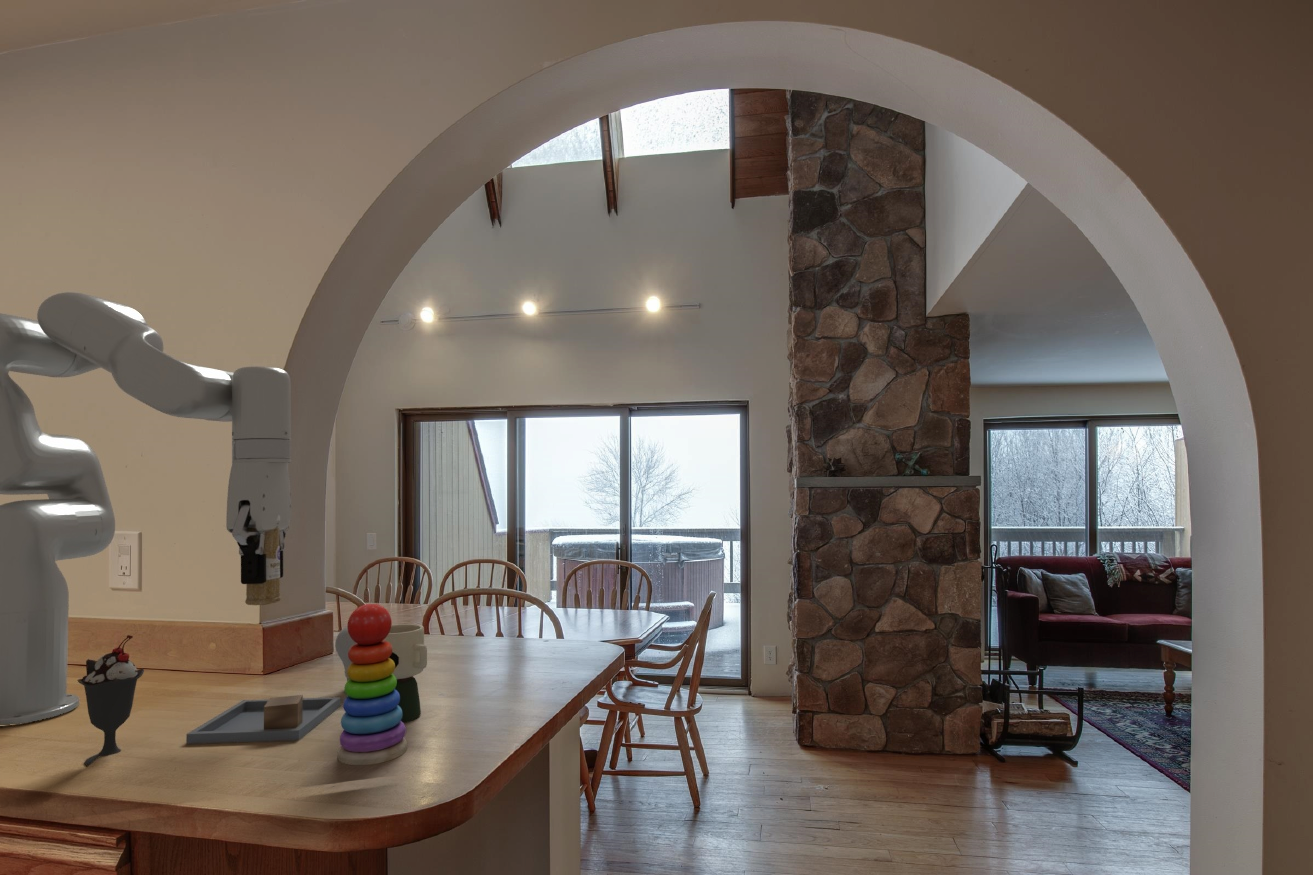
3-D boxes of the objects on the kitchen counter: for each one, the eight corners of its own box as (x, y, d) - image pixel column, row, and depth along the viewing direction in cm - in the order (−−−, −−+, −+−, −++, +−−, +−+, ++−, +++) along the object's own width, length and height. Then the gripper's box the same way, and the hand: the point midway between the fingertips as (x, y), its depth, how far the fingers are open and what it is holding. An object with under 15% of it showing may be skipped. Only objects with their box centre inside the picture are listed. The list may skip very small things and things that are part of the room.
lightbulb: (340, 701, 112) (340, 629, 112) (331, 692, 117) (331, 622, 117) (381, 693, 116) (381, 623, 116) (370, 685, 120) (370, 617, 121)
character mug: (349, 724, 101) (349, 630, 102) (389, 709, 107) (390, 620, 108) (405, 736, 96) (405, 637, 97) (444, 720, 102) (444, 626, 103)
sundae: (147, 757, 90) (150, 635, 91) (79, 774, 85) (82, 644, 86) (137, 744, 95) (140, 627, 96) (72, 758, 90) (75, 636, 91)
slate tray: (186, 749, 93) (186, 733, 93) (243, 713, 107) (243, 699, 107) (298, 746, 93) (298, 730, 93) (340, 710, 107) (340, 697, 107)
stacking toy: (373, 742, 94) (374, 596, 95) (421, 752, 91) (421, 600, 92) (322, 765, 87) (323, 607, 88) (372, 776, 84) (373, 611, 85)
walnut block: (263, 738, 94) (263, 706, 94) (269, 728, 98) (270, 697, 98) (297, 734, 95) (298, 703, 96) (302, 724, 99) (302, 694, 99)
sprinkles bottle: (282, 603, 103) (282, 508, 104) (246, 607, 101) (245, 509, 101) (278, 599, 107) (278, 507, 108) (243, 602, 105) (242, 509, 105)
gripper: (263, 455, 113) (264, 574, 112) (201, 452, 96) (201, 591, 95) (313, 454, 114) (314, 572, 113) (260, 450, 97) (260, 588, 96)
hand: (262, 579), depth 104 cm, fingers closed on sprinkles bottle, 4 cm apart
